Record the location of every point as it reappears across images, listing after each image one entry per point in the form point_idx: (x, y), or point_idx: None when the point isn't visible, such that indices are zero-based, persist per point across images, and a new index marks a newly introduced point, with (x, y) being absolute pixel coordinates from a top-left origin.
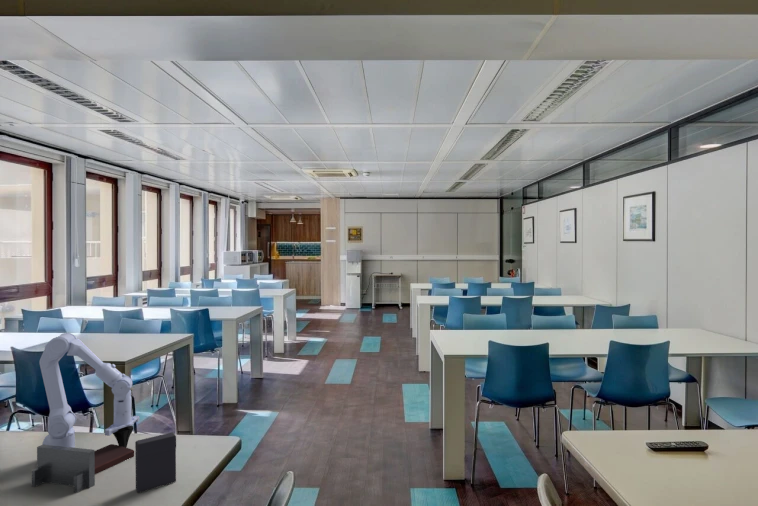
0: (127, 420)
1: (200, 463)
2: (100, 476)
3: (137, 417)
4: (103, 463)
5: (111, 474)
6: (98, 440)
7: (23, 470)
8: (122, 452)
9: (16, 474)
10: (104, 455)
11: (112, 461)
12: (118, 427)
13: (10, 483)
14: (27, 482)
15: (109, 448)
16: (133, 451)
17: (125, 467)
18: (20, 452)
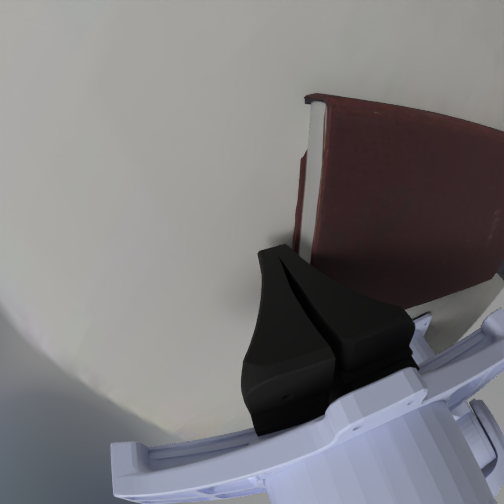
0: (431, 457)
1: None
2: (500, 91)
3: (146, 491)
4: (496, 139)
5: (486, 53)
6: (221, 411)
7: (439, 346)
8: (395, 152)
9: (456, 335)
10: (442, 218)
11: (465, 121)
12: (482, 368)
13: (491, 299)
14: (497, 275)
15: (362, 286)
16: (336, 96)
17: (433, 28)
18: None
